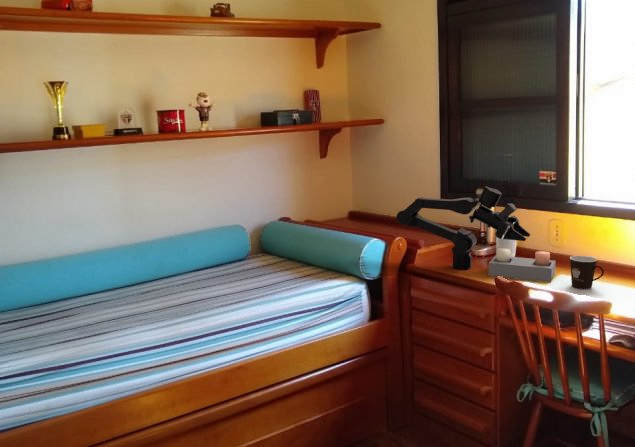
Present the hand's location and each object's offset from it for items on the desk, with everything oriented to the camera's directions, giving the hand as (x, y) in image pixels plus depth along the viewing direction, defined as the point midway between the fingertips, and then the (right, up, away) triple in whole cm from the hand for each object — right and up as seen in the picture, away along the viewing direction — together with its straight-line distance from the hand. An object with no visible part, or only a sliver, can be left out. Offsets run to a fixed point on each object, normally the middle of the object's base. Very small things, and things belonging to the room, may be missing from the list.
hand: (527, 237), depth 235 cm
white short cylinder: (-8, -9, +4) cm, 13 cm away
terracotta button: (+5, -10, -2) cm, 11 cm away
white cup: (-2, -10, +22) cm, 24 cm away
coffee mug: (+14, -17, -15) cm, 27 cm away
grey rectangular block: (-2, -14, +2) cm, 14 cm away
